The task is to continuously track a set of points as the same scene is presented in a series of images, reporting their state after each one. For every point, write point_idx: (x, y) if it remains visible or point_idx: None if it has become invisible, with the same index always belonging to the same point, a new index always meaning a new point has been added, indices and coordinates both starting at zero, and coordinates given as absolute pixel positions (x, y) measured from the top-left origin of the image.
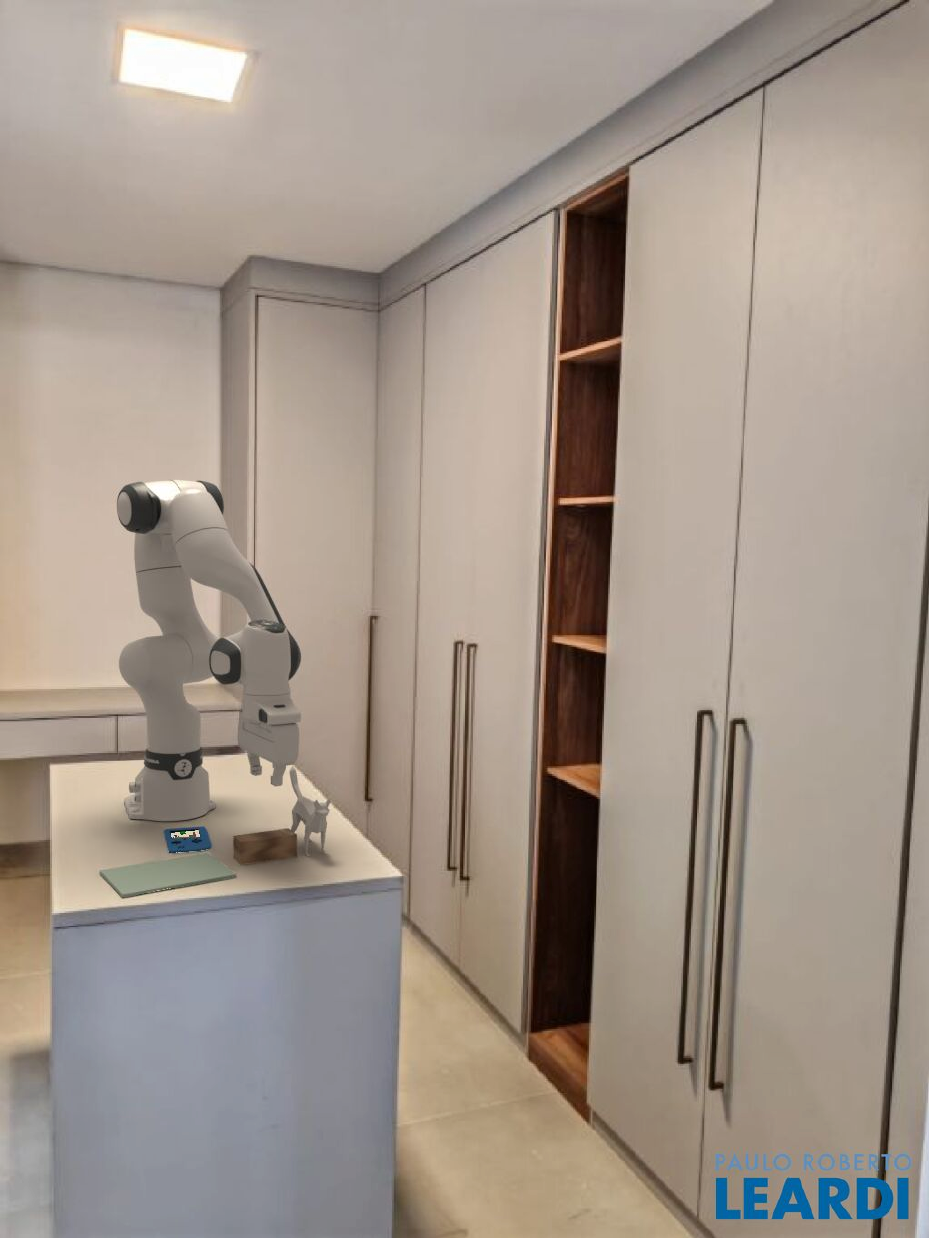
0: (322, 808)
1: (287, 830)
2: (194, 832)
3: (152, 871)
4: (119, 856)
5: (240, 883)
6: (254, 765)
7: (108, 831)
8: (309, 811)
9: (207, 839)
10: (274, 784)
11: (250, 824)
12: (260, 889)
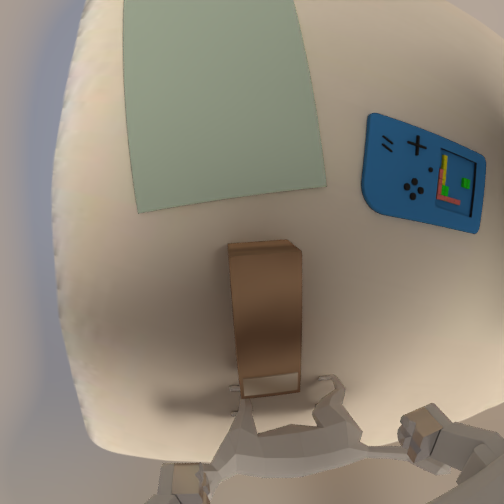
0: None
1: (278, 387)
2: (459, 203)
3: (236, 41)
4: (377, 30)
5: (101, 213)
6: (437, 439)
7: (493, 80)
8: (253, 458)
9: (416, 214)
10: (161, 468)
11: (456, 318)
12: (60, 245)
